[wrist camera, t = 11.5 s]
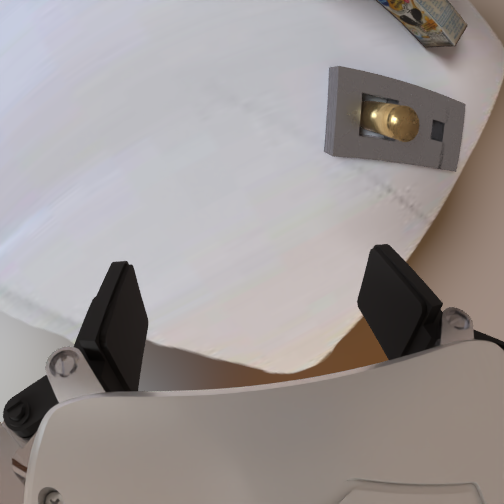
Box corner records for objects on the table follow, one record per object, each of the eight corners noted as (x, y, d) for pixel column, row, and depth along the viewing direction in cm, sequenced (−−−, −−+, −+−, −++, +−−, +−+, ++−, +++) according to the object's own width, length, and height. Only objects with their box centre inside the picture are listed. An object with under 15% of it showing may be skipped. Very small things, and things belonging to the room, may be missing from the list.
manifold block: (329, 67, 30) (338, 66, 28) (453, 101, 33) (465, 104, 31) (324, 151, 37) (332, 156, 34) (444, 166, 39) (455, 171, 37)
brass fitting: (356, 98, 33) (392, 102, 25) (382, 103, 33) (421, 109, 26) (354, 128, 35) (388, 139, 27) (379, 131, 36) (417, 144, 28)
